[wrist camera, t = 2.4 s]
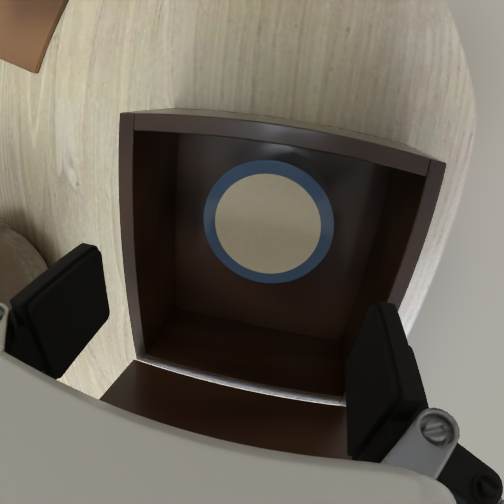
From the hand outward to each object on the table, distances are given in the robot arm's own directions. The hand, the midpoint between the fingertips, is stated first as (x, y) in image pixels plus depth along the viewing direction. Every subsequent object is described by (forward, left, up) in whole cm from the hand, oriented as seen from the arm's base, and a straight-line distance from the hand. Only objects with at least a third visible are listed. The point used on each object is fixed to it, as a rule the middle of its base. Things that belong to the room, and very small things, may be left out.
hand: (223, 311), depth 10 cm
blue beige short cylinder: (0, 0, -12) cm, 12 cm away
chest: (+2, +1, -13) cm, 13 cm away
